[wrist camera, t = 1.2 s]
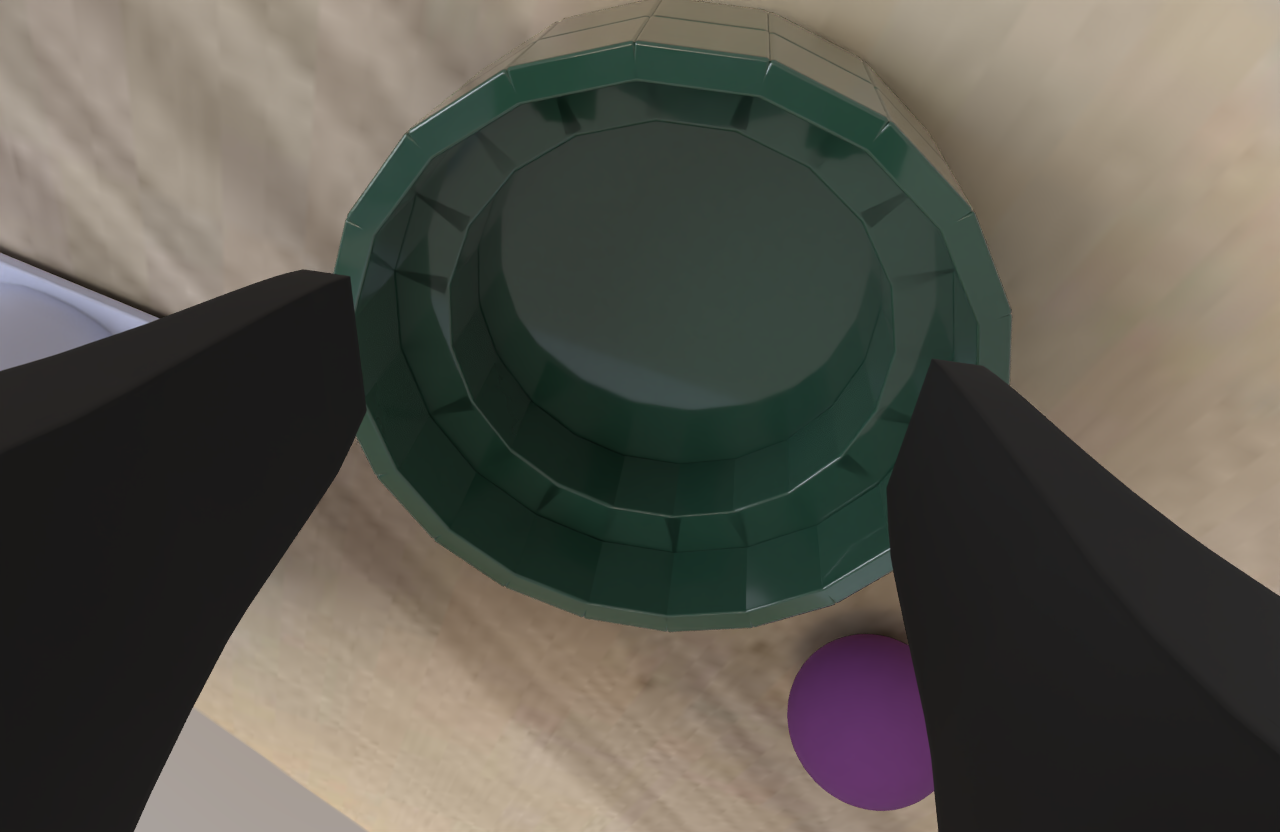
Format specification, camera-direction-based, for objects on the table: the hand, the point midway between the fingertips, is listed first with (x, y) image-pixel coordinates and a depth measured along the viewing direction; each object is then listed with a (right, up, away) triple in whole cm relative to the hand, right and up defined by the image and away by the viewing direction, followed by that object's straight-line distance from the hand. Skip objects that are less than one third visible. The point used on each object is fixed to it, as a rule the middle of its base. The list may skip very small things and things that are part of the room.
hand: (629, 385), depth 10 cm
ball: (+7, -10, +14) cm, 19 cm away
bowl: (+1, +3, +10) cm, 10 cm away
